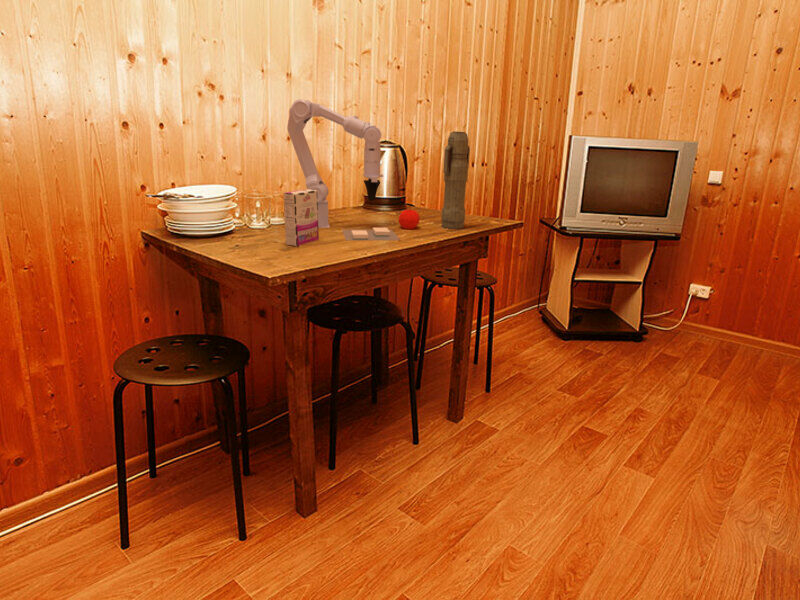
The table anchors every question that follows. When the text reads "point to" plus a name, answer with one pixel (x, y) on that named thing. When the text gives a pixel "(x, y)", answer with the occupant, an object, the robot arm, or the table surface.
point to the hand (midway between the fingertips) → (371, 200)
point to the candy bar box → (301, 217)
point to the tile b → (381, 231)
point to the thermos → (455, 180)
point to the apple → (409, 219)
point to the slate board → (371, 236)
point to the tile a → (359, 234)
